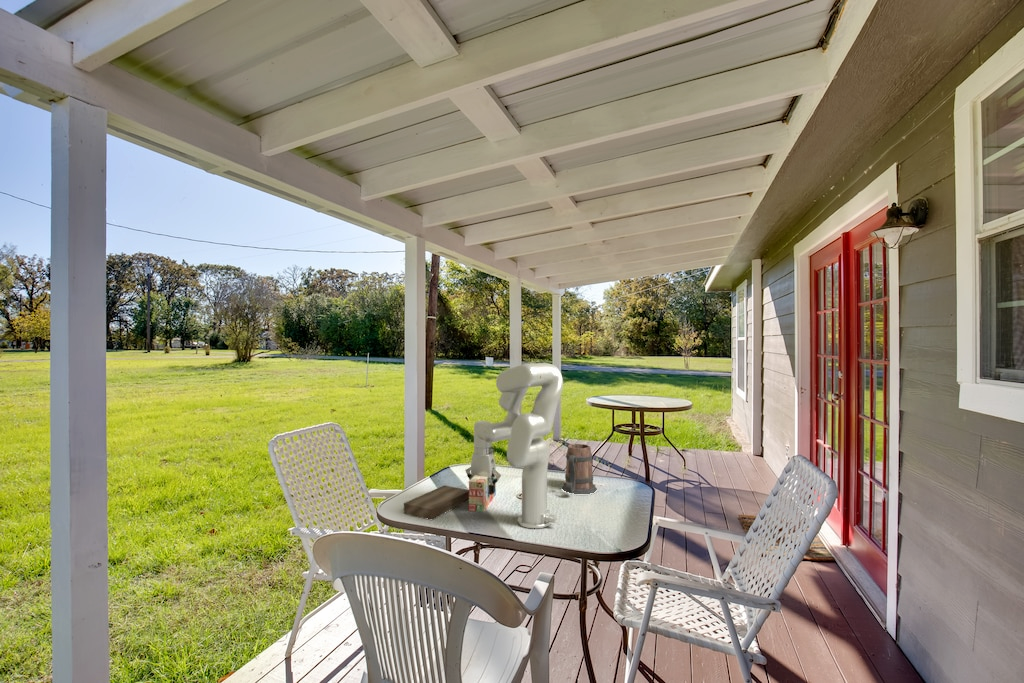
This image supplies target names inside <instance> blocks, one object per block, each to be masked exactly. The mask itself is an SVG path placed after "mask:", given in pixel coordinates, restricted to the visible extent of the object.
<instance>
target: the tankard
mask: <svg viewBox="0 0 1024 683" xmlns="http://www.w3.org/2000/svg"><path fill="white" fill-rule="evenodd" d="M567 446H568V447H567V451H566V454H565V458H566V466H565V467H566V468H565V476H564V479H565V482H564V483H563V485H562V486H561V487H562V489H563V490H564V491H566V492H569V493H574V494H590V493H594V492H595V491H596V490H597V489H598V488H597V487H596V485H595V484H594V474H593V454H592V449H591V446H590V445H588V444H584V443H575V444H574V443H573V444H571V443H570V444H568V445H567ZM594 494H595V493H594Z"/></svg>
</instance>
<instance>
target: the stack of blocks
mask: <svg viewBox="0 0 1024 683" xmlns="http://www.w3.org/2000/svg"><path fill="white" fill-rule="evenodd" d="M494 478H496V476H495V477H494ZM496 484H497V483H496ZM496 484H495V492H494V493H493V494H491V495H490V494H489V485H491V484H490V482H489V480H488V477H484V476H479V475H475V476H474V477H473V478H472V479H471V480H469V481H468V490H469V501H468V511H469V512H478V513H484V512H485V511H486V510H487V508H488V507H489V506H488V505H490V504H491V502H492V501H493V499H494V498H495V496H496V494H497V488H496V487H497V485H496ZM489 503H490V504H489Z"/></svg>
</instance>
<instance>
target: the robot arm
mask: <svg viewBox="0 0 1024 683" xmlns="http://www.w3.org/2000/svg"><path fill="white" fill-rule="evenodd" d="M495 385H496V388H497V390H498V391H499V392H500V393H501V395H500V397H499V399H498V405H499V406H500V408H501V409H502V410H504V411H506V412H507V414H506V416H505V417H504V420H503V421H497V422H494V423H492V422H491V421H489V420H477V421H475V422H474V424H473V453H472V454H471V462H470V463H471V464H470V466H469V467H468V468H466V469H465V470H464V472H465V473H466V475H467V477H468V479H469V481H470V480H471V479H472V478H473V477H474V476H475V475H479V476H484V477H488V480H489V482H490V484H491V485H489V494H490V495H491V494H493V493H494V492H495V484H497V483H498V482H499V481H500V478H501V477H502V474H501V473H499V472H498V471H497V468H496V467H497V466H496V460H495V455H494V453H495V449H493V443H497V442H502V441H506V440H508V442H507V443H508V444H507V447H506V448H507V449H506V459H507V461H508V463H509V464H510V466H511V467H513V468H515V469H522V472H521V473H522V474H521V515H519V516H518V517H517V523H518V524H519V526H521V527H524V528H527V529H534V528H535V529H543V528H547V527H548V526H550V525H551V524H552V523H553V524H557V520H558V519H557V515H554V514H551V512H550V509H548V467H549V461H550V456H551V449H550V444H549V442H547V440H546V439H544V437H547V436H548V435H549V434H551V431H552V429H553V425H554V421H555V418H556V413H557V410H558V405H559V401H560V399H561V395H562V393H563V388H564V379H563V375H562V372H561V371H560V369H559V368H558V367H557V366H556V365H555V364H552V363H548V362H537V363H523V364H519V365H516V366H514V367H511V368H508V369H507V368H506V369H505V370H502V371H501V372H500V373H499V374H498V375H497V378H496V382H495ZM535 387H541V389H540V390H539V392H538V393H537V394H536V396H535V399H534V401H533V402H534V403H533V406H532V410H531V411H530V412H526V413H522V414H521V413H520V409H519V408H520V406H521V404H522V402H523V400H524V398H525V396H526V394H527V391H528V389H529V388H535ZM495 476H496V478H494V477H495Z"/></svg>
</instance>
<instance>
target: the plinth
mask: <svg viewBox="0 0 1024 683" xmlns="http://www.w3.org/2000/svg"><path fill="white" fill-rule="evenodd" d="M468 500H469V489H464V488H459V487H455V486H449V485H442V486H440V487H438V488H435V489H433V490H429V491H428V492H426V493H424V494H421V495H419V496H417V497H415V498H413V499H411V500H408V501H406V502H404V503H403V514H405V515H408V516H409V515H410V516H413V517H417V516H418V518H421V517H423V518H422V519H425V518H428V519H427V520H429V519H433V520H435V519H437V518H438V516H439V517H440V516H442V515H444V514H446V513H448V512H450V511H452V510H453V508H454V509H455V508H457V507H459V506H461V505H463V504H465V503H467V502H469V501H468ZM466 501H467V502H466ZM451 509H452V510H451ZM449 510H450V511H449ZM447 511H448V512H447ZM445 512H446V513H445ZM436 517H437V518H436ZM434 518H435V519H434Z"/></svg>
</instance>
